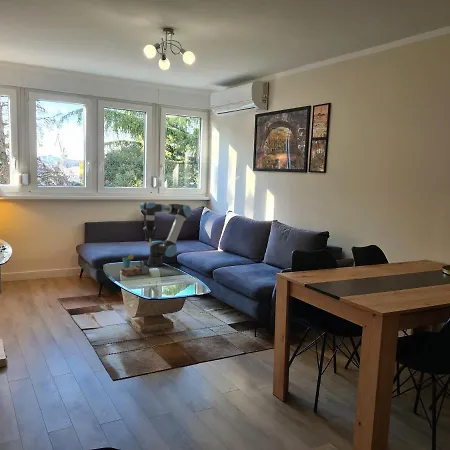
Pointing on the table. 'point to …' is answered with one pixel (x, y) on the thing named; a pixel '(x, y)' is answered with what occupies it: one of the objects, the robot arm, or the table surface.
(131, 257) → the cup
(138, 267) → the base
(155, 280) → the table surface
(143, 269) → the collar
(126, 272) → the hinged jaw
